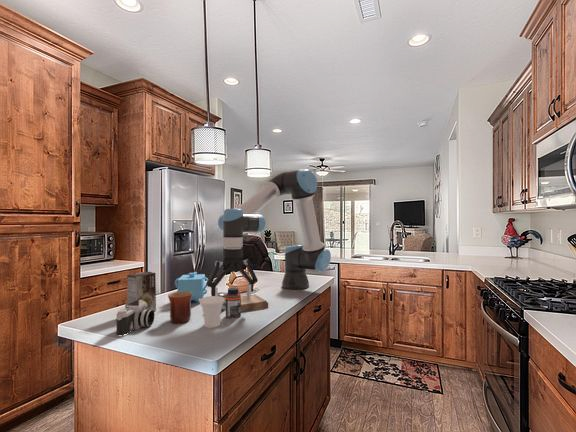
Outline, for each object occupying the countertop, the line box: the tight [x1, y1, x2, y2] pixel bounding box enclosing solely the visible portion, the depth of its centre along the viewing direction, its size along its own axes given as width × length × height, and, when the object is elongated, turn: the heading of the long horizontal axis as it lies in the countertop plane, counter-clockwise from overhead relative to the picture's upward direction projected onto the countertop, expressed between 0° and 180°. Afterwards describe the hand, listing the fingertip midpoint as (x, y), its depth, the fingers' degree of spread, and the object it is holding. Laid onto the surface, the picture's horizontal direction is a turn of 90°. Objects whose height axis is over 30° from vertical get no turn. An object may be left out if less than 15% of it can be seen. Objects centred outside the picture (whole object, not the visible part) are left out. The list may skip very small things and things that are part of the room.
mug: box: [167, 291, 193, 325], centre depth 119 cm, size 12×9×10 cm
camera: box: [115, 300, 155, 336], centre depth 110 cm, size 16×9×10 cm, turn 178°
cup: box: [199, 295, 224, 329], centre depth 112 cm, size 9×9×10 cm
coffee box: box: [126, 270, 157, 312], centre depth 129 cm, size 9×6×16 cm
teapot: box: [174, 271, 209, 304], centre depth 150 cm, size 18×16×13 cm
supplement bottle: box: [225, 286, 242, 320], centre depth 123 cm, size 6×6×11 cm
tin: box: [218, 291, 228, 312], centre depth 132 cm, size 6×6×7 cm
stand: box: [241, 294, 269, 313], centre depth 137 cm, size 14×14×3 cm
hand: (232, 302), depth 122 cm, fingers open, 13 cm apart
